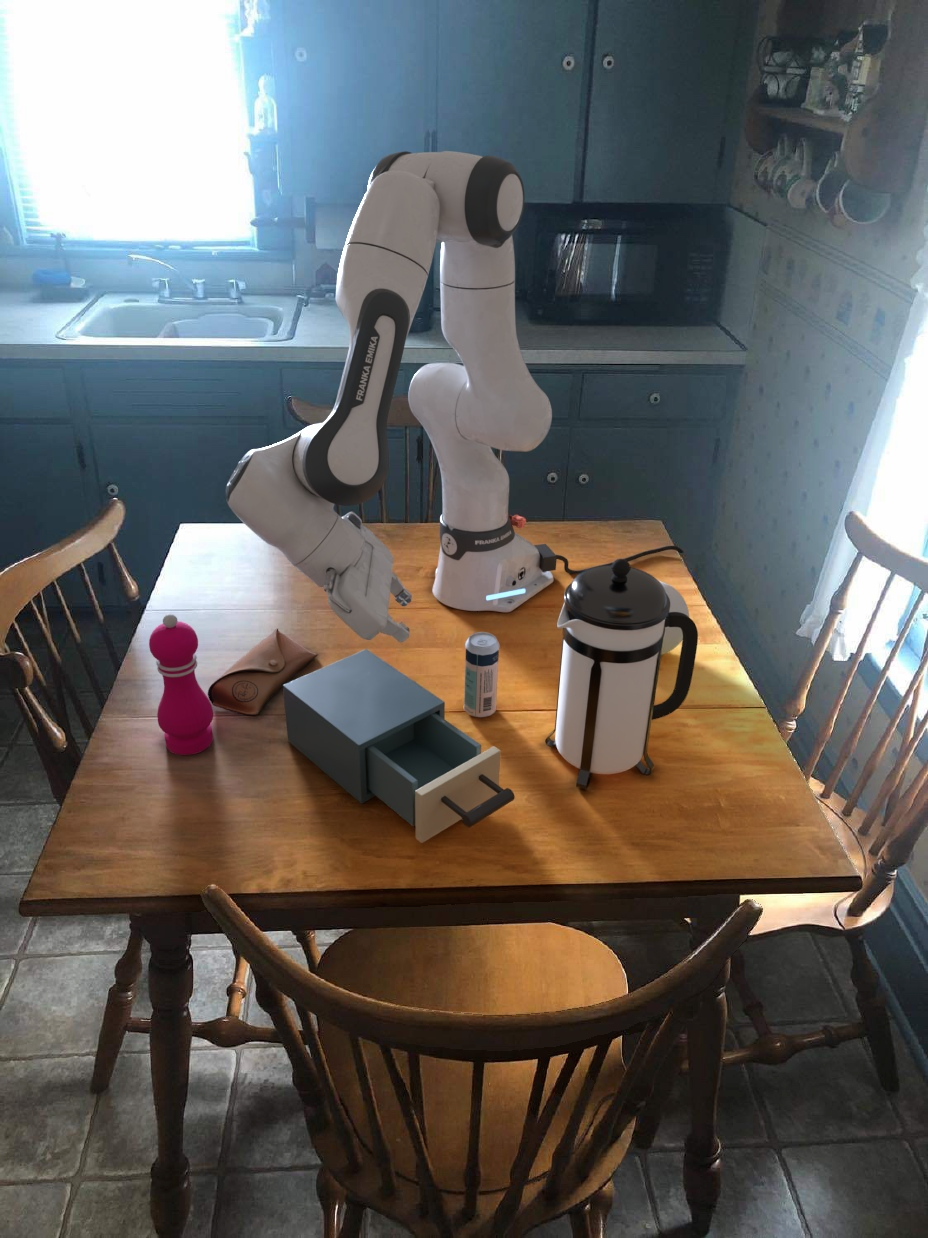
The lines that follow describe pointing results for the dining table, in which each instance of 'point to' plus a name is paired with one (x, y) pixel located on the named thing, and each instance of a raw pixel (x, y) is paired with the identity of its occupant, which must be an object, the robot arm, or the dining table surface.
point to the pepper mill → (181, 689)
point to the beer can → (481, 674)
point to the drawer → (435, 776)
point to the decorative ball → (676, 605)
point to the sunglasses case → (259, 674)
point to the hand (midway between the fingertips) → (407, 618)
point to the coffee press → (615, 668)
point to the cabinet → (352, 714)
